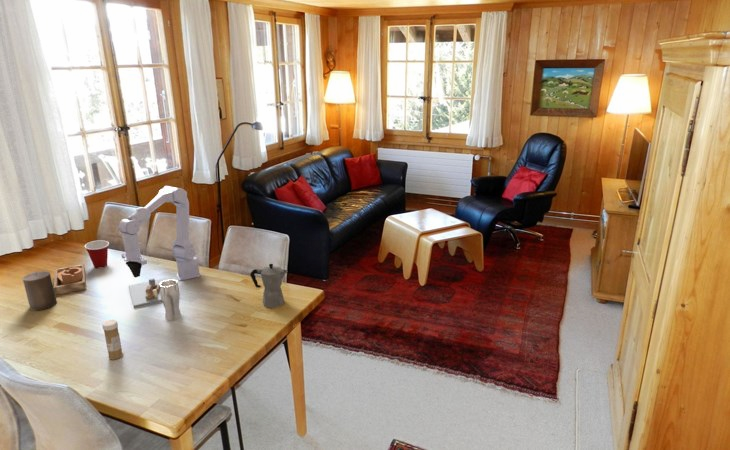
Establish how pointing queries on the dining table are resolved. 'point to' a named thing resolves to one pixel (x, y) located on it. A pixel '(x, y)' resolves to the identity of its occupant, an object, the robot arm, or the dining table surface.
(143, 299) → the base board
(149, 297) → the brown wooden blocky piece
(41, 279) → the pillar candle
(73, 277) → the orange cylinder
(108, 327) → the sprinkles bottle
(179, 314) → the beer glass
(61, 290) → the parts corral
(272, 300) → the coffeepot
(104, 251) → the plastic cup
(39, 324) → the dining table surface
